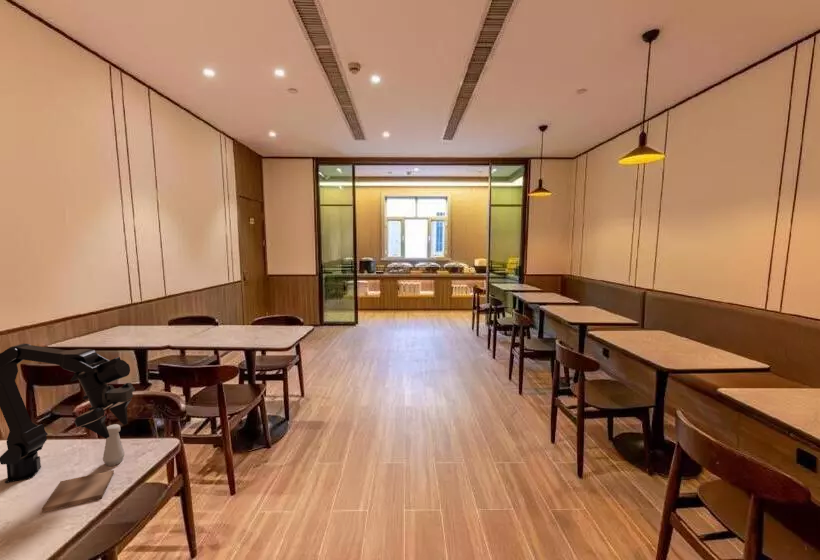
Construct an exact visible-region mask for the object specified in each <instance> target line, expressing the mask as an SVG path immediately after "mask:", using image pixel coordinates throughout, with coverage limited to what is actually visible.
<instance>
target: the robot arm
mask: <svg viewBox="0 0 820 560" xmlns="http://www.w3.org/2000/svg"><path fill="white" fill-rule="evenodd" d="M23 361H30V362H37V363H45V364H50V365H57V366H59V367H60V368H61V369H63V370H65V371H68V372H72V373H73V375H72V377H71V379H70V382H75V381H77V380H78V381H79V384H80V386H81V387H82V389H83V391H84V394H85V395H84V396H82V398H83V400H84V401H85V400H88V402H89V404H90V406H91V407H89V408H88V410H89V411H86V412H83V413H82V414H79V415H78V416H77V417H75V419H74V424H75V426H76V428H79V427H81V429H82V428H85V429H87V430H89V431H92V432H94V433H96V434H97V435H99V436H100V437H102V438H104V439H106V438H108V437H109V432H108V430H107V427H108V426H107V424H106V422H105V421H106V418H107V416H108V415H107V414H106V415H105V411H107V410H108V409H109V411H110V412H111V413H112V414H113V415H114V416H115V418H117V420H118V421H119V422H121V424H122V425H124V426H125V425H128V421H129V420H128V406H129V404H130V402H131V401H132V398H133V397H134V395H133V392H135V391H136V388H135V387H134V385H133V383H131V382H126V383H124V384H123V385H122V386H119V387H118V388H117V387H116V388H115V387H114V385H113V384H111V383H112V382H115V381H117V380H120V379H123V378H126V377H128V376H129V375H130V374H131V366H130V364H129V363H127V362H126V360H123V359H121V358H120V356H117V357H115V358H112V359H108V358H106V357H105V356H102V355H100V354H99V353H97V351H96V350H95V349H92V348H89V349H88V348H87V349H86V348H83V349H81V348H79V349H71V350H70V349H67V350H66V349H61V348H60V349H59V348H51V347H48V346H47V347H46V346H40V345H39V346H38V345H33V344H30V343H21V344H16V345H13V346H10V347H8V348H7V349H5V350H3V351H2V352H0V411H1V412H2V416H3V418H4V420H5V423H6V425H7V427H8V430H9V431H8V434H7V438H6V447H7V450H6V451H4V453H3V454H1V455H0V465H6V473H7V474H6V475H7V478H6V479H5V480H4V483H12V482H17V481H22V480H27V479H31V478H34V476H35V475H36V474H37V473H38V472H39V471H40V470H41V468H42V464H41V456H39V454H38V452H39V451H41V450H43V447H44V445H45V444H46V442H47V439H48V438H47V436H48V432H46V430H45V425H44V424H42V423H40V424H36V423H35V422H33V421H32V420H31V417H30V414H29V411H28V410H27V407H26V405H25V402H24V399H23V397H22V394H21V393H20V389H19V387H18V385H17V383H16V379H17V377H18V374H19V369H18V364H20V363H21V362H23ZM109 383H110V384H109Z"/></svg>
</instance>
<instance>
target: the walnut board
mask: <svg viewBox="0 0 820 560" xmlns="http://www.w3.org/2000/svg"><path fill="white" fill-rule="evenodd" d="M114 474H115V472H114V469H112V470H108V471H103V472H99V473H94V474H89V475H83V476H80V477H75V478H69V479H64V480H60V481H59V483H58V484H57V486H56V487H55V489H54V490H53V492H52V493H51V494H50V496H49V497H48V499H47V500H46V502H45V503H44V505H43V506H42V507H41V512H42V513H45V512H50V511H55V510H59V509H62V508H66V507H71V506H75V505H79V504H83V503H84V504H85V503H88V502H92V501H97V500H101V499H103V497H104V495H105V492H106V490H107V489H108V487H109V485H110V483H111V480H112V478H113V477H114Z"/></svg>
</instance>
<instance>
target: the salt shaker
mask: <svg viewBox="0 0 820 560" xmlns="http://www.w3.org/2000/svg"><path fill="white" fill-rule="evenodd" d="M106 427H107V430H108V432H109V437H108V438H105V445H104V451H103V457H102V461H103V463H104V464H105V465H106V467H107V466H108V467H113V466H116V464H117V465H119V464H120V463H121V462H123V460H124V457H125V450H124V447H123V444H122V440H121V437H120V433H119V432H121V425H120V424H117V423H116V424H115V423H114V424H110V425H107V426H106Z"/></svg>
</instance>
